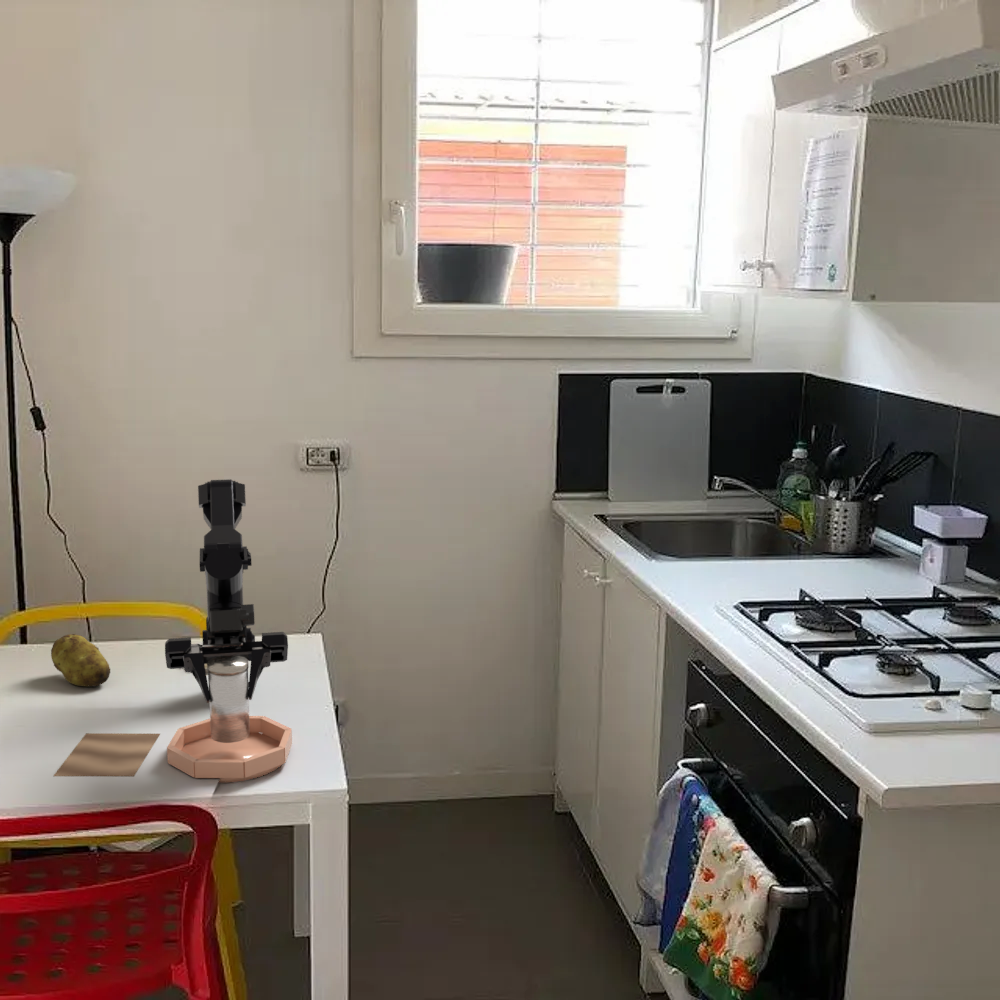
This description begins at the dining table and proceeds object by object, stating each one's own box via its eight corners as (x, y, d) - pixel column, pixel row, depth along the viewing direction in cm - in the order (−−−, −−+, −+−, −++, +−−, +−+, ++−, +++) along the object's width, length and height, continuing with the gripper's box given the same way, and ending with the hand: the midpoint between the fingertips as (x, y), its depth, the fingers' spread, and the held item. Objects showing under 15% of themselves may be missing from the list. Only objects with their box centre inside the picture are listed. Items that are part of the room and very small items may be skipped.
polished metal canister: (203, 733, 191) (200, 660, 189) (239, 723, 195) (237, 652, 192) (220, 746, 187) (218, 672, 184) (257, 736, 190) (255, 663, 188)
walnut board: (86, 737, 199) (86, 733, 199) (160, 738, 199) (160, 733, 199) (53, 780, 183) (53, 775, 183) (134, 781, 183) (133, 776, 183)
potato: (67, 696, 216) (64, 653, 215) (48, 674, 227) (45, 633, 225) (114, 687, 221) (112, 645, 219) (93, 666, 231) (90, 626, 230)
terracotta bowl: (186, 735, 200) (185, 715, 199) (297, 736, 201) (296, 716, 200) (159, 784, 183) (158, 762, 182) (280, 784, 183) (279, 762, 182)
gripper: (162, 589, 187) (163, 683, 179) (285, 583, 192) (292, 674, 184) (166, 622, 197) (167, 712, 189) (283, 615, 201) (289, 703, 193)
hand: (229, 700), depth 188 cm, fingers closed on polished metal canister, 6 cm apart
